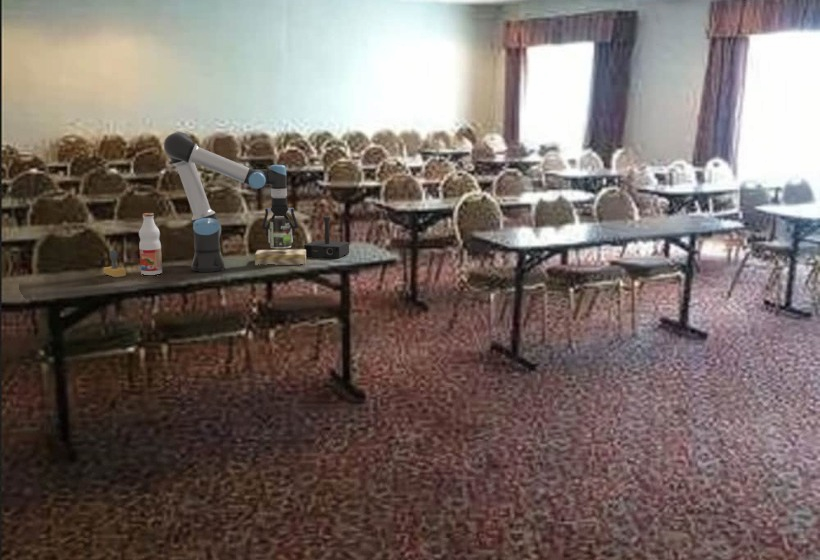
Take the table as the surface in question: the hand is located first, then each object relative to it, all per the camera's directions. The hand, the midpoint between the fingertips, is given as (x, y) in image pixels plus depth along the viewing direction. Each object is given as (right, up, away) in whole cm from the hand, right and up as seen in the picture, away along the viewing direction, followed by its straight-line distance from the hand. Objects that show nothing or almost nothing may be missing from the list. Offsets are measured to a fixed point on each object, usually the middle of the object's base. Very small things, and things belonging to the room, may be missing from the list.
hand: (280, 242), depth 427 cm
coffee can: (0, -2, +1) cm, 2 cm away
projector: (+20, -6, +20) cm, 30 cm away
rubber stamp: (-71, -17, -31) cm, 79 cm away
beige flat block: (0, -10, +2) cm, 10 cm away
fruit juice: (-55, -16, -28) cm, 64 cm away
